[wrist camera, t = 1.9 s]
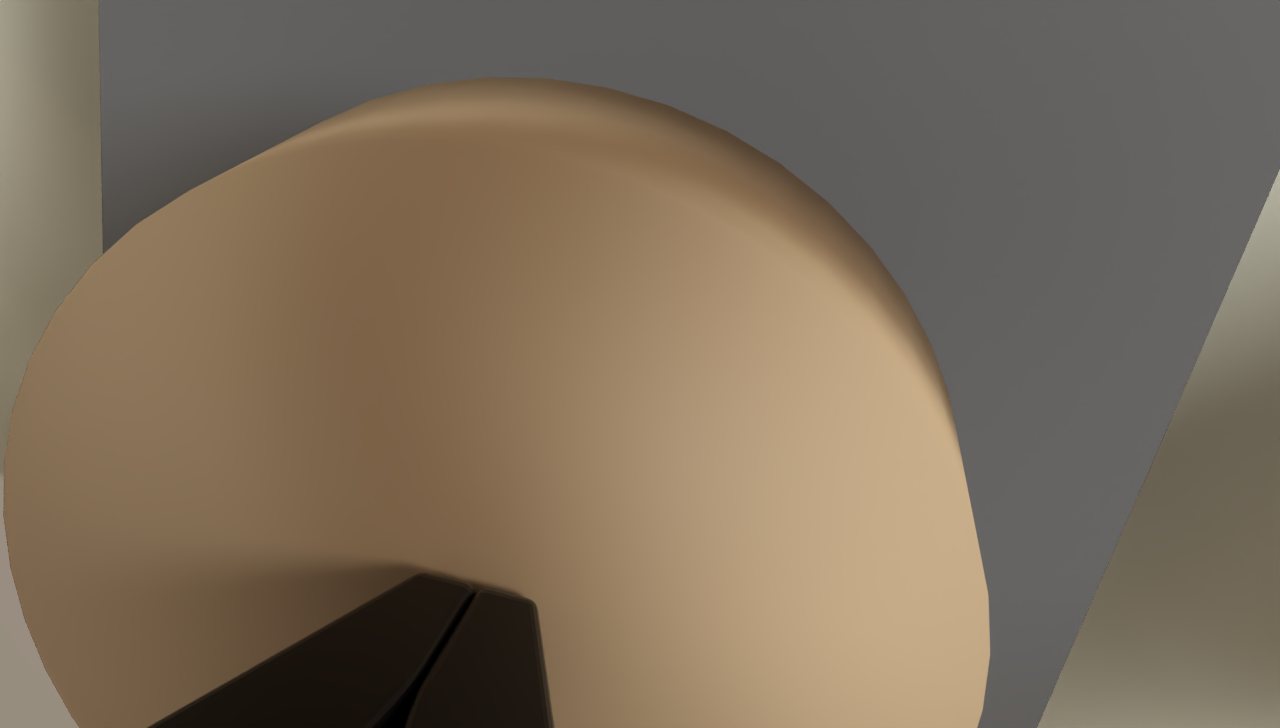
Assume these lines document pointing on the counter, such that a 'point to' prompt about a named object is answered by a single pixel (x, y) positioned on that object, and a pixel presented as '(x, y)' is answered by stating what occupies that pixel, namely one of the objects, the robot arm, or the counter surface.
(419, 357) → the tan rounded lump
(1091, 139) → the gray rectangular block
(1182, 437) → the counter surface
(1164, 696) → the counter surface
